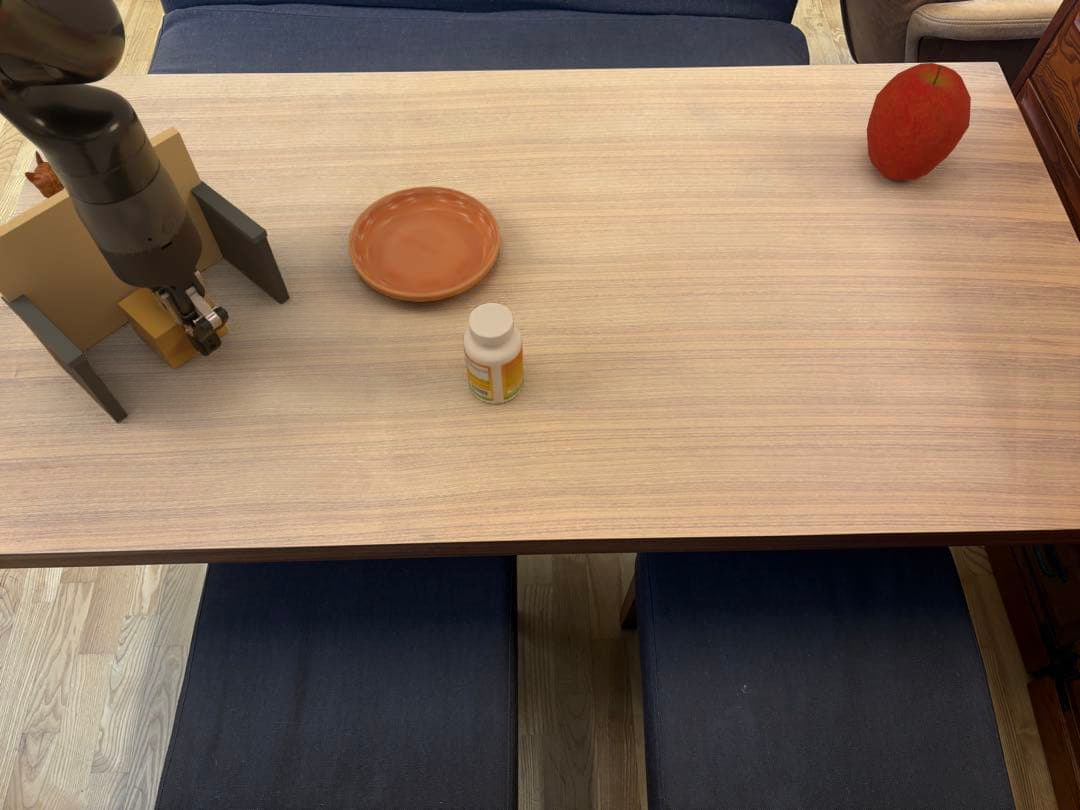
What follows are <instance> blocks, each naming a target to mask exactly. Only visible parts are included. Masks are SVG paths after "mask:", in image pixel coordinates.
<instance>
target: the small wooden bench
mask: <svg viewBox="0 0 1080 810" xmlns="http://www.w3.org/2000/svg"><path fill="white" fill-rule="evenodd" d="M149 140H150V142H151V144H152V146H153V148H154V150H155V152H156V154H157V157H158V158H159V160H160V162H161V163H162V165H163V166H164V167H165V169H166V170H167V172H168V173H169V175H170V176H171V178H172V180H173V182H174V184H175V186H176V188H177V190H178V192H179V194H180V196H181V198H182V200H183V202H184V205H185V207H186V209H187V211H188V213H189V215H190V217H191V219H192V221H193V223H194V225H195V227H196V229H197V231H198V233H199V236H200V238H201V241H202V253H201V256H200V259H199V261H198V263H197V265H196V269H197V270H198V271H199V272H200V274H202V272H204V271H205V270H207V269H209V268H210V267H211V266H213V265H214V264H216V263H217V262H219V261H220V260H221V259H225V260H226V261H228V262H229V263H230V265H233V267H234V268H236V269H237V270H238V271H239V272H241V273H242V274H243V275H244V276H245V277H247V278H248V279H250V281H252V282H253V283H254V284H256V286H258V288H260V289H262V290H263V291H264V292H265V293H266V294H268V295H269V296H270V297H271V298H273V299H274V300H275V301H276V302H277V303H279V304H280V305H283V304H285V303H286V302H287V301H288V300H290V299H291V297H290V295H289V292H288V289H287V287H286V284H285V281H284V278H283V276H282V274H281V271H280V268H279V266H278V263H277V261H276V258H275V255H274V253H273V250H272V248H271V244H270V242H269V240H268V238H267V237H268V232H267V230H266V229H265V228H264V227H263V226H261V225H260V224H259V223H258V222H256V221H255V220H254V219H252V218H251V217H250V216H248V215H247V214H246V213H245V212H244V211H242V210H241V209H239V208H238V207H236V205H234V204H233V203H231V202H230V201H229V200H228V199H226V198H225V197H224V196H223V195H221V194H220V193H219V192H218V191H216V190H215V189H213V188H212V187H211V186H209V184H207V183H206V182H205V181H203V180H202V179H201V178H200V175H199V173H198V171H197V169H196V166H195V165H194V162H193V160H192V158H191V156H190V153H189V151H188V148H187V147H186V144H185V142H184V139H183V137H182V135H181V133H180V131H179V130H177V129H176V128H175V127H173V126H170V127H168V128H166V129H165V130H163V131H161V132H159V133H158V134H156V135H155V136H153V137H151V138H149ZM139 289H140V287H135V286H131V285H129V284H126V283H124V282H123V281H121V280H120V279H119V278H118V277H117V276H116V275H115V274H114V272H113V271H112V269H111V268H110V266H109V264H108V263H107V261H106V260H105V258H104V256H103V255H102V253H101V252H100V250H99V249H98V247H97V245H96V244H95V242H94V241H93V239H92V238H91V236H90V234H89V233H88V231H87V230H86V228H85V226H84V225H83V223H82V222H81V220H80V218H79V217H78V215H77V213H76V211H75V209H74V206H73V204H72V201H71V199H70V197H69V195H68V193H67V191H66V190H65V188H64V189H63V190H62V191H60V192H58V193H57V194H55V195H53V196H51V197H50V198H46V199H45V200H43V201H41V202H39V203H38V204H36V205H34V206H33V207H30V208H29V209H27V210H26V211H23V212H22V213H21V214H19V215H17V216H15V217H14V218H12V219H10V220H8V221H7V222H5V223H3V224H2V225H0V295H1V297H0V298H1V300H2V301H3V302H4V304H5V305H7V306H8V307H9V309H10V310H11V311H12V312H14V314H15V315H16V316H17V317H18V318H19V319H20V320H21V321H22V322H23V323H24V324H25V325H26V327H27V328H28V329H29V330H30V332H31V333H32V334H33V336H34V337H35V338H36V339H37V340H38V341H39V343H40V344H41V345H42V346H43V348H44V349H45V350H46V351H47V352H48V354H49V355H50V356H51V357H52V358H53V360H54V361H55V362H56V363H57V364H58V365H59V366H60V367H61V368H62V369H63V370H64V371H65V372H66V373H67V374H68V375H69V376H70V377H71V378H72V379H73V381H75V382H76V384H78V385H79V386H80V387H81V389H83V390H84V391H85V392H86V393H87V395H89V396H90V397H91V398H92V400H94V401H95V403H97V404H98V405H99V406H100V408H102V409H103V410H104V412H106V413H107V415H108V416H109V417H110V418H111V419H112V420H113V421H114V422H116V423H117V424H119V423H120V422H122V421H123V420H124V419H126V418H127V417H128V416H129V415H128V413H127V412H126V410H125V409H124V408H123V406H122V405H121V404H120V402H119V401H118V400H117V399H116V397H115V396H114V394H112V392H111V391H110V390H109V388H108V387H107V386H106V384H105V383H104V382H103V380H102V379H101V378H100V376H99V375H98V374H97V372H96V371H95V369H93V367H92V366H91V365H90V364H89V362H88V361H87V359H88V357H87V355H86V354H85V353H84V352H85V351H87V350H88V349H90V348H91V347H93V346H94V345H96V344H97V343H98V342H100V341H102V340H103V339H104V338H106V337H107V336H109V335H111V334H112V333H113V332H115V331H116V330H118V329H119V328H121V327H122V326H124V325H125V324H127V323H128V322H129V321H128V319H127V318H126V316H125V314H124V313H123V311H122V310H121V308H120V307H119V305H118V303H119V302H120V301H122V300H123V299H125V298H126V297H128V296H129V295H131V294H132V293H134V292H136V291H137V290H139Z"/></svg>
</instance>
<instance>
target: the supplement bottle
mask: <svg viewBox="0 0 1080 810" xmlns="http://www.w3.org/2000/svg"><path fill="white" fill-rule="evenodd" d="M514 320H515V319H514V316H513V312H511V310H510V309H509V308H508V307H507V306H505V305H504V304H501V303H497V302H486V303H483V304H481V305H478V306H477V307H475V308H474V309H472V311H471V312H470V314H469V317H468V326H467V328H466V329H465V331H464V335H463V339H462V340H463V341H462V342H463V343H462V344H463V345H462V346H463V352H464V359H465V367H466V375H467V381H468V386H469V389H470V391H471V393H472V394H473V395H474V396H475V397H476V398H477V399H478V400H480V401H482V402H484V403H487V404H494V405H495V404H497V405H498V404H503V403H506V402H509V401H511V400H513V399H514V398H515V397H516V396H518V395H519V393H520V392H521V390H522V388H523V385H524V377H525V376H524V349H523V346H524V345H523V336H522V333H521V331H520V328H519V327H518V326H517V324H516V323H515V321H514Z"/></svg>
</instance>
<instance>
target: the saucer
mask: <svg viewBox="0 0 1080 810" xmlns="http://www.w3.org/2000/svg"><path fill="white" fill-rule="evenodd" d="M493 214H494V213H492V211H491V210H490V209H489V208H488V207H487V206H486V205H485V204H484V203H483V202H481V201H480V200H479V199H477V198H476V197H474V196H472V195H471V194H468V193H466V192H464V191H461V190H459V189H458V190H457V189H454V188H449V187H444V186H433V185H431V186H429V185H428V186H427V185H426V186H415V187H409V188H404V189H401V190H397V191H394V192H391V193H389V194H386V195H385V196H383V197H381V198H379V199H377V200H375V201H374V202H372V203H371V204H369V205H368V206H367V207H366V208H365V209H364V210H363V211H362V212H361V213H360V214H359V216H358V217H357V218H356V219H355V221H354V222H353V225H352V227H351V229H350V232H349V236H348V242H347V243H348V244H347V250H348V255H349V258H350V262H351V264H352V267H353V268H354V270H355V272H356V273H357V275H358V276H359V278H360V279H361V280H362V281H363V282H364V283H365V284H366V285H368V286H369V287H370V288H372V289H374V291H376V292H378V293H380V294H382V295H384V296H387V297H389V298H392V299H395V300H399V301H405V302H412V303H413V302H418V303H420V302H421V303H422V302H423V303H425V302H427V303H428V302H434V301H440V300H441V301H442V300H445V299H449V298H452V297H455V296H457V295H460V294H462V293H464V292H466V291H467V290H469V289H471V288H472V287H474V286H475V285H477V284H478V283H480V281H481V280H483V278H485V277H486V276H487V274H488V273H489V272H490V270H491V269H492V268H493V266H494V264H495V263H496V260H497V258H498V254H499V250H500V245H501V244H500V243H501V233H500V228H499V225H498V221H497V220H496V218H495V216H494V215H493Z"/></svg>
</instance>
